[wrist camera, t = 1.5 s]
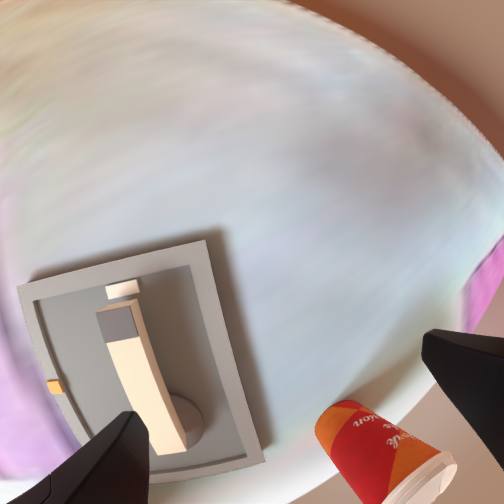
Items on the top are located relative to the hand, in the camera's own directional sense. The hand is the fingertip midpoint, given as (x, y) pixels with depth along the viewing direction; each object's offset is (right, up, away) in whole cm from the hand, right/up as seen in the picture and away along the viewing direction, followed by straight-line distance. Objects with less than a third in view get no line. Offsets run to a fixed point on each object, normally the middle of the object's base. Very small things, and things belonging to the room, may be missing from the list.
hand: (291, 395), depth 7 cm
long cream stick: (-9, -6, +12) cm, 17 cm away
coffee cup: (+8, -15, +18) cm, 25 cm away
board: (-11, -8, +13) cm, 19 cm away
